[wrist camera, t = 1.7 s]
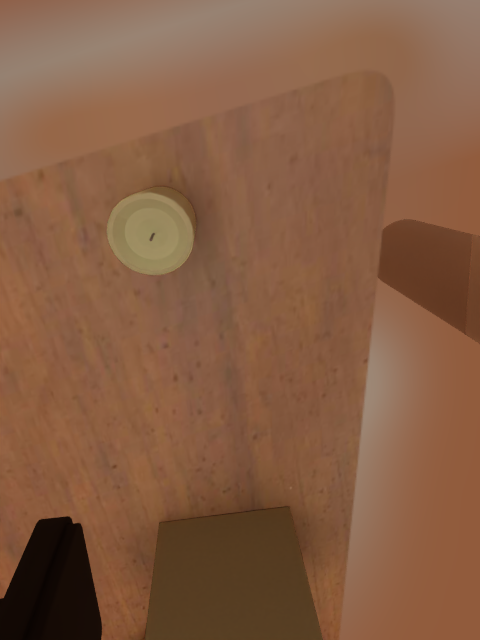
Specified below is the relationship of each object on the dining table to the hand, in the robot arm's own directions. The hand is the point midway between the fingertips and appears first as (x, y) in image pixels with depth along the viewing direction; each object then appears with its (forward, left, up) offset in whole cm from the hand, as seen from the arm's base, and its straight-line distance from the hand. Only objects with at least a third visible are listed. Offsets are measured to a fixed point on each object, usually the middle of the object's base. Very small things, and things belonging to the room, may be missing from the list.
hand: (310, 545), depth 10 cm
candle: (+5, -4, -27) cm, 28 cm away
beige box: (+3, +27, -27) cm, 38 cm away
